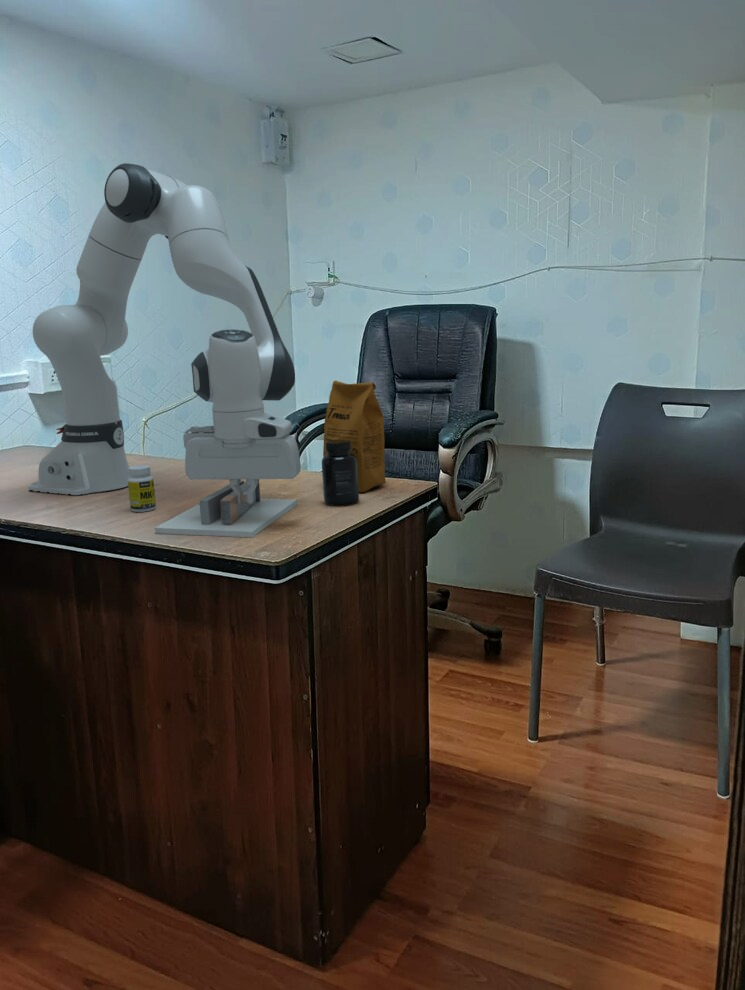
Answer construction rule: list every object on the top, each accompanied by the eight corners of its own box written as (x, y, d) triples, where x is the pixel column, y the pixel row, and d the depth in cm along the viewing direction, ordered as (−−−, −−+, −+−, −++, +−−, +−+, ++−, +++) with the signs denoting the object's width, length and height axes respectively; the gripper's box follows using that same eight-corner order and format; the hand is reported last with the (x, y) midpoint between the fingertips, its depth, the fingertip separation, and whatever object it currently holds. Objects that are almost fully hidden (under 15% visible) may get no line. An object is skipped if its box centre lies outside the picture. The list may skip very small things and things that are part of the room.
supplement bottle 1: (142, 513, 152) (138, 470, 150) (125, 511, 154) (120, 468, 152) (161, 507, 156) (157, 465, 154) (144, 505, 158) (140, 463, 156)
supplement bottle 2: (363, 498, 157) (361, 438, 154) (351, 507, 151) (349, 444, 148) (331, 497, 159) (328, 437, 157) (318, 505, 153) (314, 443, 150)
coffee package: (350, 479, 175) (345, 377, 170) (392, 486, 167) (389, 380, 162) (317, 487, 168) (311, 382, 163) (359, 495, 160) (355, 385, 155)
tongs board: (155, 533, 138) (152, 502, 137) (211, 502, 159) (209, 475, 158) (252, 537, 134) (249, 505, 132) (297, 504, 154) (295, 476, 153)
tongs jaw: (222, 523, 138) (220, 500, 137) (247, 501, 153) (246, 480, 152) (231, 523, 138) (229, 500, 137) (256, 501, 153) (254, 480, 152)
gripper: (175, 429, 137) (182, 507, 141) (291, 427, 134) (296, 507, 137) (189, 424, 143) (196, 499, 147) (300, 422, 140) (304, 498, 143)
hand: (245, 503), depth 142 cm, fingers closed
